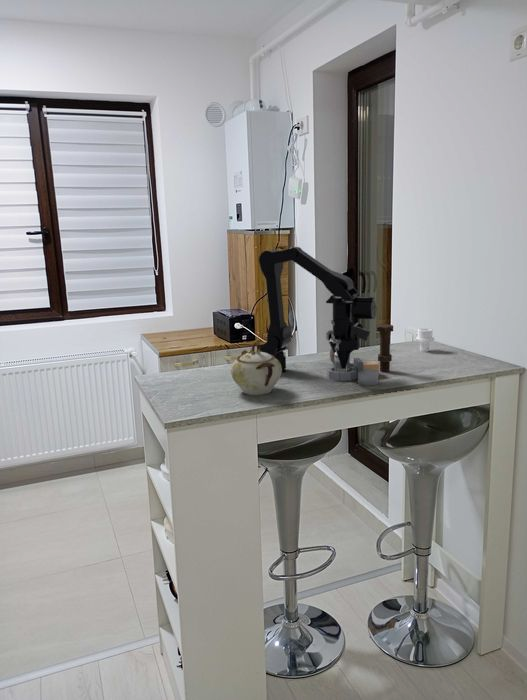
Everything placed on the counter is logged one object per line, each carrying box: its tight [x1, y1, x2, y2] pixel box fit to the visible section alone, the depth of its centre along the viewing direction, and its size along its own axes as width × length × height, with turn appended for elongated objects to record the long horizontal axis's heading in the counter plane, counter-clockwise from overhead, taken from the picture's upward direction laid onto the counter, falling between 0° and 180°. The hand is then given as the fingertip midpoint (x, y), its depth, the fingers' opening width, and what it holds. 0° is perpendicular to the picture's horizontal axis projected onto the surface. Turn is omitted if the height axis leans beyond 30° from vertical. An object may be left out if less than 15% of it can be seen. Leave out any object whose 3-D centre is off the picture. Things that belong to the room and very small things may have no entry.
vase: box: [329, 348, 335, 366], centre depth 201 cm, size 7×7×9 cm
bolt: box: [376, 323, 394, 373], centre depth 190 cm, size 6×5×15 cm
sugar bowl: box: [230, 341, 283, 396], centre depth 173 cm, size 20×15×15 cm
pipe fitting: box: [415, 327, 435, 353], centre depth 218 cm, size 6×7×8 cm
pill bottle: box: [334, 347, 351, 372], centre depth 185 cm, size 5×5×8 cm
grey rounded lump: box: [357, 369, 379, 386], centre depth 179 cm, size 6×6×4 cm
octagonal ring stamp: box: [326, 357, 380, 382], centre depth 186 cm, size 16×9×5 cm, turn 96°
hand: (341, 366), depth 186 cm, fingers closed on pill bottle, 5 cm apart
